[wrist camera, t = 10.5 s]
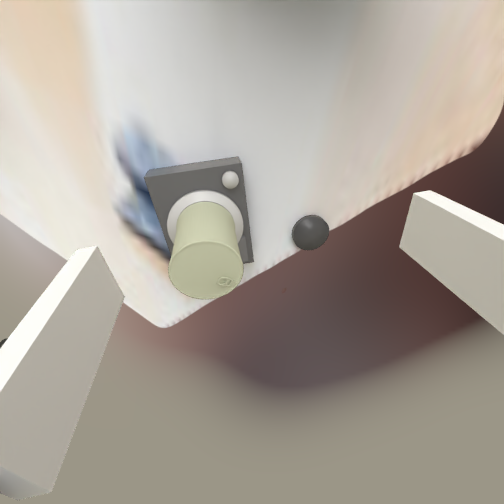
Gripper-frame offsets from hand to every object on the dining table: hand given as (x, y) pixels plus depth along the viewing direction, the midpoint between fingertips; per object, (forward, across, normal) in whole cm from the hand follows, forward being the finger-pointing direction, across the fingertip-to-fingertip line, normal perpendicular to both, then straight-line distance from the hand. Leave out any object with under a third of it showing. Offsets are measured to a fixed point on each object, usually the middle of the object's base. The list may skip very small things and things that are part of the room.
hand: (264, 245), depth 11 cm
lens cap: (+33, +14, -20) cm, 41 cm away
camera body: (+33, -5, -13) cm, 35 cm away
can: (+28, -5, -13) cm, 31 cm away
